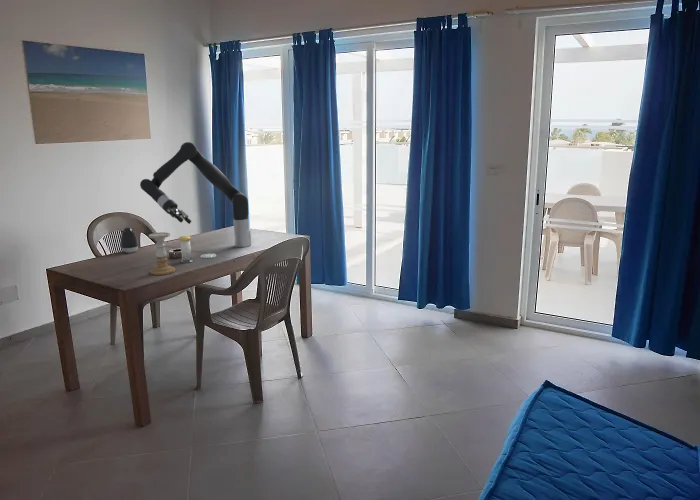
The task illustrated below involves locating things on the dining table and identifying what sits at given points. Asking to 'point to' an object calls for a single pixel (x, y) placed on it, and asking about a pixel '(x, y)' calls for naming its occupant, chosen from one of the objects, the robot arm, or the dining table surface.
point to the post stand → (186, 260)
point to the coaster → (208, 255)
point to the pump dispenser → (128, 240)
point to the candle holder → (161, 255)
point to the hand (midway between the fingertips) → (186, 221)
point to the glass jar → (185, 247)
